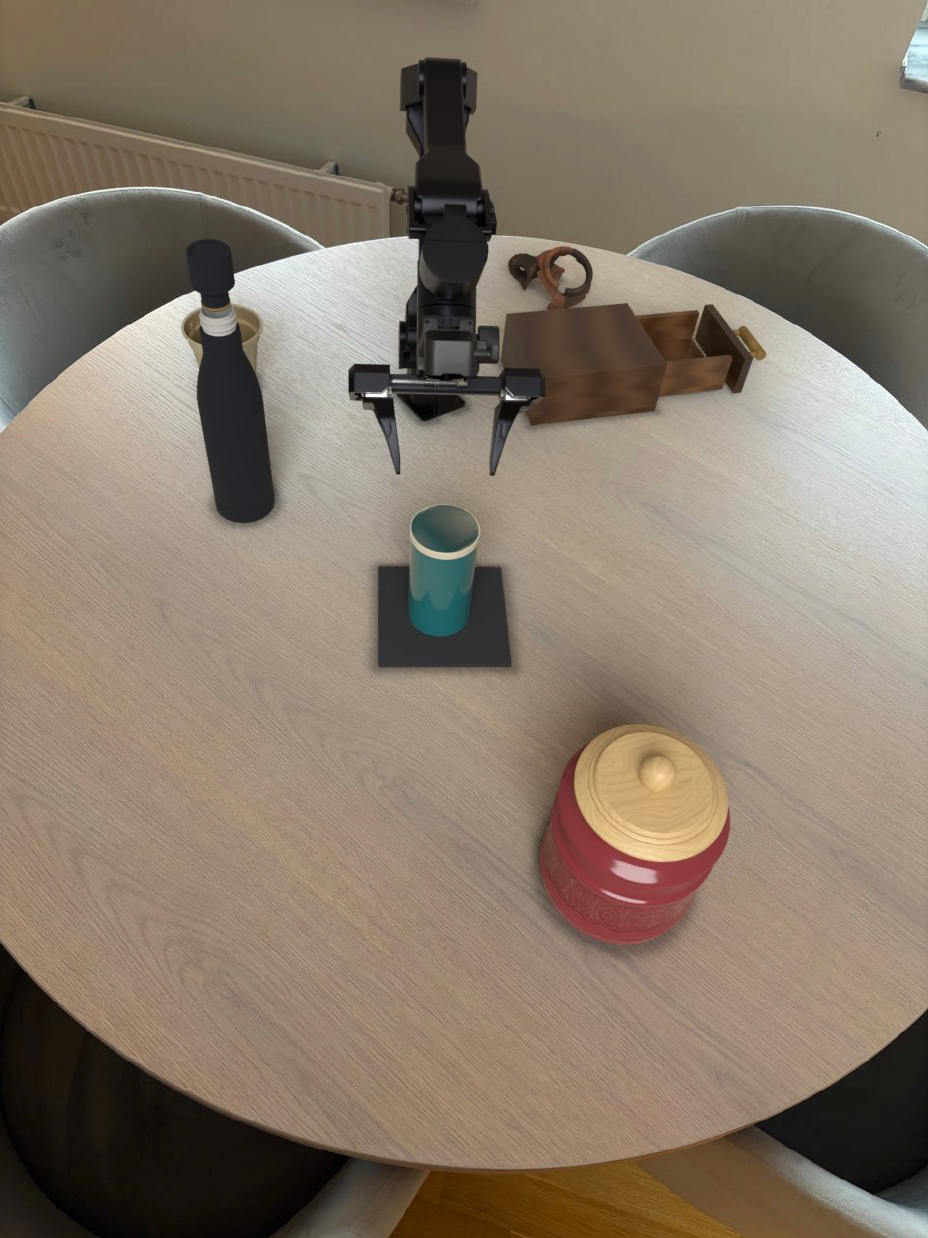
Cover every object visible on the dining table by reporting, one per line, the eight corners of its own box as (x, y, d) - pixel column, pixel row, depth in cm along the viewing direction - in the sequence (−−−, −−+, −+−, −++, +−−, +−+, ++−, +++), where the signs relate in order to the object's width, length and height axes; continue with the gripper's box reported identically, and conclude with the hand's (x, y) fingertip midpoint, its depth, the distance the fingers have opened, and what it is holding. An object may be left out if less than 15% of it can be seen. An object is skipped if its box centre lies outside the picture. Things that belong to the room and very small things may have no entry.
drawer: (729, 335, 132) (741, 301, 128) (770, 389, 124) (783, 354, 120) (597, 348, 127) (604, 313, 123) (631, 405, 120) (639, 370, 116)
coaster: (378, 569, 100) (378, 566, 100) (500, 569, 101) (500, 567, 101) (378, 667, 92) (378, 665, 92) (511, 667, 93) (511, 664, 93)
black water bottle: (263, 528, 103) (230, 274, 80) (207, 517, 103) (157, 261, 80) (282, 489, 107) (256, 237, 84) (228, 479, 107) (187, 225, 84)
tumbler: (456, 582, 99) (464, 497, 90) (480, 627, 96) (491, 544, 86) (397, 596, 97) (400, 512, 88) (419, 644, 94) (424, 560, 84)
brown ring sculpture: (576, 279, 141) (601, 247, 133) (571, 335, 139) (595, 307, 131) (501, 255, 138) (521, 222, 130) (494, 313, 135) (514, 283, 128)
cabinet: (616, 349, 129) (627, 302, 124) (654, 411, 121) (667, 364, 116) (500, 360, 126) (506, 313, 120) (531, 425, 117) (538, 377, 112)
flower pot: (183, 371, 119) (171, 310, 113) (256, 356, 122) (249, 296, 116) (203, 415, 114) (192, 354, 108) (278, 399, 117) (273, 338, 111)
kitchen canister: (675, 804, 85) (732, 689, 71) (704, 949, 76) (775, 849, 63) (531, 804, 84) (561, 687, 70) (544, 950, 75) (580, 849, 62)
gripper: (346, 286, 82) (346, 467, 84) (558, 293, 84) (554, 471, 86) (350, 315, 94) (350, 475, 95) (537, 321, 95) (534, 478, 97)
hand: (445, 475), depth 93 cm, fingers open, 9 cm apart
